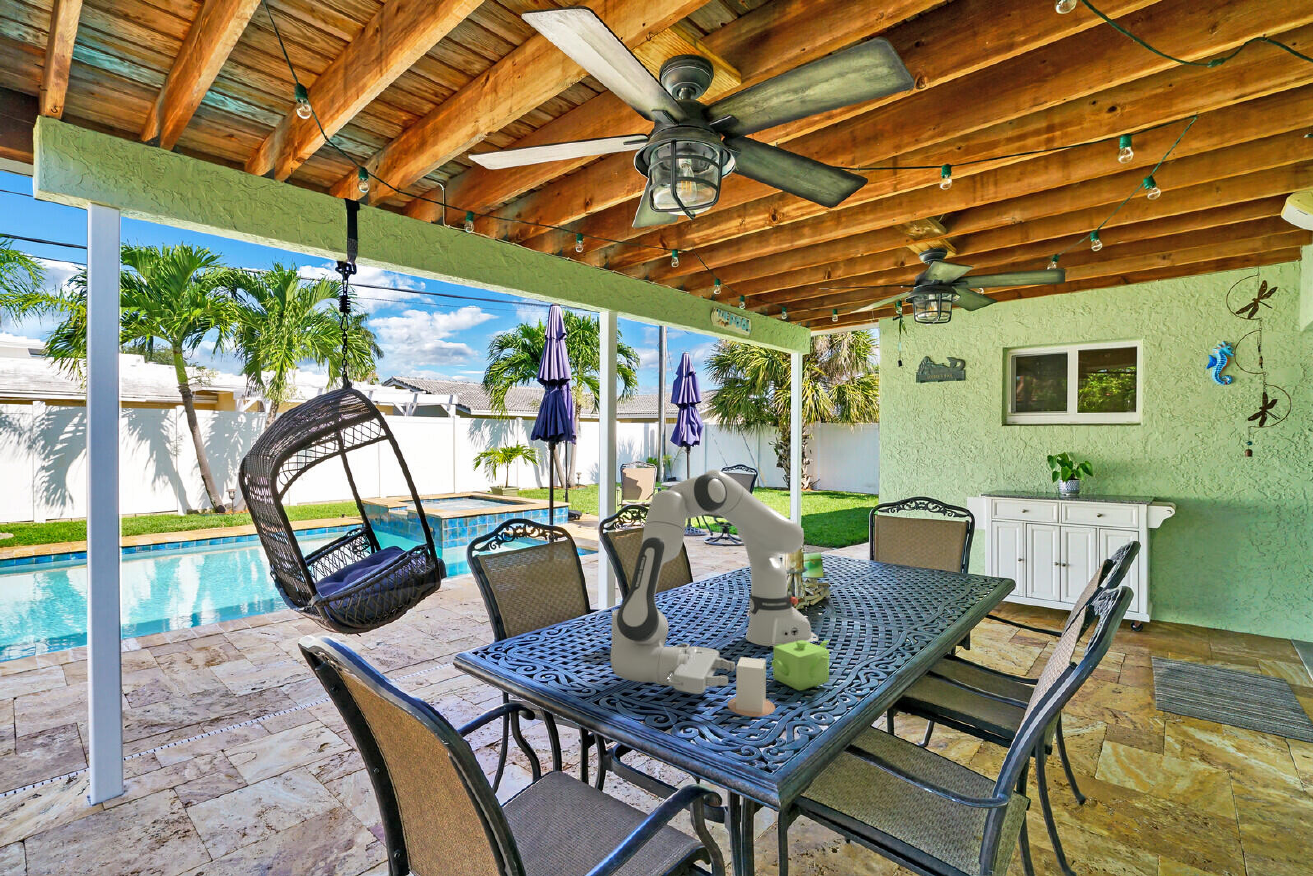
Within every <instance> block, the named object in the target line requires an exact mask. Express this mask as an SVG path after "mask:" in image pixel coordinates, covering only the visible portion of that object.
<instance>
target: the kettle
mask: <svg viewBox="0 0 1313 876" xmlns="http://www.w3.org/2000/svg"><path fill="white" fill-rule="evenodd" d="M829 642H830V640H829V639H827V640H823V641H821V643H820V644H819V645H818V644H816V643H815V644H812V643H810V642H807V641H804V640H800V641H796V642H792V643H787V644H776V646H775V647H773V660H772V662H771V667H772V668H773V670H772V673H773V674H772V676H773V677H772V678H773V679H774V680H776V681H778V682H780V683H781V684H784V685H786V686H788V687H790V688H792V689H794V690H797V691H798V692H799V691H805V690H807V689H810V688H813V687H814V688H816V687H818V686H820V687H821V685H823V684H827V683H829V682H830V660H831V657H830V649H828V648H826V646H827V645H828V644H829Z"/></svg>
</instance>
